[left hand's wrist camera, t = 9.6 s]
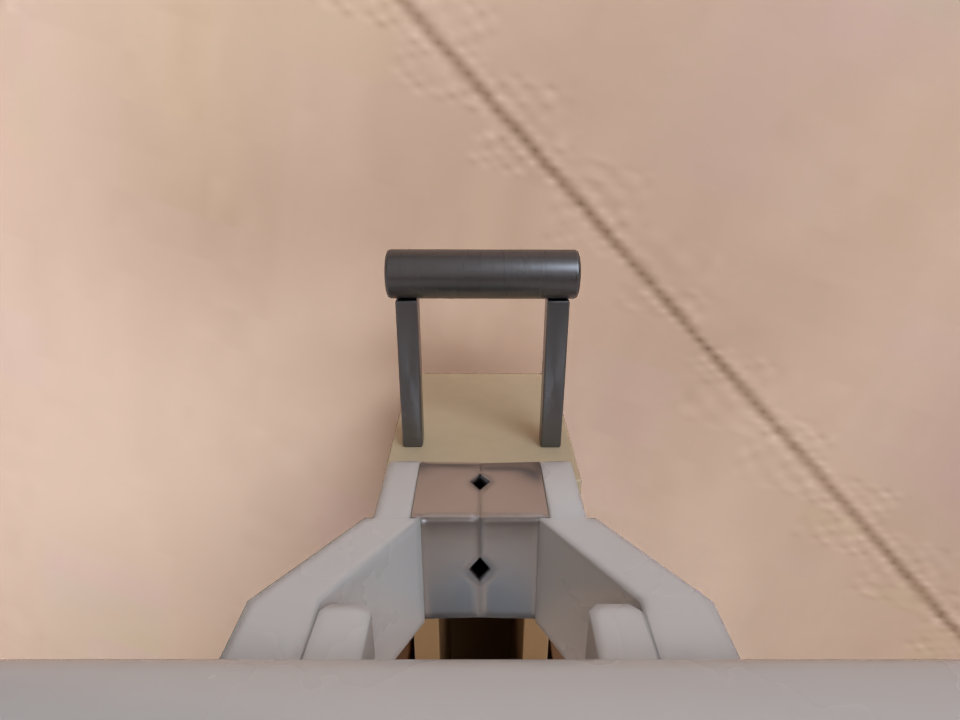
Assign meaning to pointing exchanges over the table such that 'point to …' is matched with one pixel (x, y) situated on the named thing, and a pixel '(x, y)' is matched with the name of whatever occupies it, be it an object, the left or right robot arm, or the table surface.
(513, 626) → the drawer
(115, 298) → the table surface
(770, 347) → the table surface
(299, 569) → the left robot arm
